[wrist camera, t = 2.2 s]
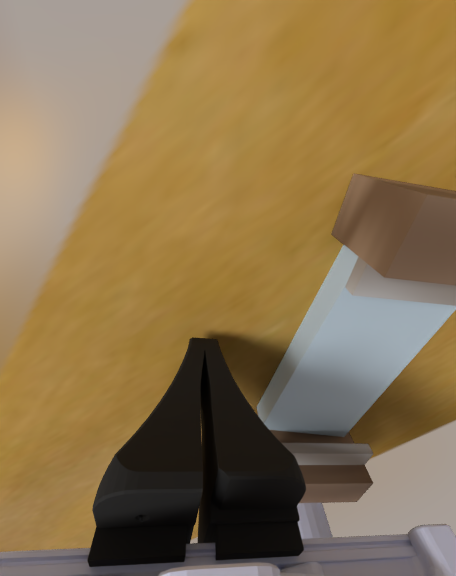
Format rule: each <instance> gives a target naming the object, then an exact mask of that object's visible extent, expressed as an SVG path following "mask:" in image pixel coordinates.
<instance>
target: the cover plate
mask: <svg viewBox="0 0 456 576" xmlns="http://www.w3.org/2000/svg"><path fill="white" fill-rule="evenodd" d="M358 257H359V256H357V255H356V254H355V253H354V252H352V251H351V250H350V249H349V248H348V247H346V246H345V245H343V247H342V249H341V250H340V252H339V254H338V256H337V258H336V260H335V262H334V263H333V265H332V267H331V269H330V271H329V273H328V275H327V277H326V278H325V280H324V282H323V284H322V286H321V288H320V290H319V291H318V293H317V295H316V297H315V299H314V301H313V303H312V305H311V306H310V308H309V310H308V312H307V314H306V316H305V318H304V319H303V321H302V323H301V325H300V327H299V329H298V331H297V333H296V334H295V336H294V338H293V340H292V342H291V344H290V346H289V347H288V349H287V351H286V353H285V355H284V357H283V359H282V361H281V362H280V364H279V366H278V368H277V370H276V372H275V374H274V375H273V377H272V379H271V381H270V383H269V385H268V387H267V389H266V390H265V392H264V394H263V396H262V398H261V400H260V402H259V403H258V405H257V411H258V417H259V418H260V419H261V420H262V422H263V423H264V424H265V425H266V427H267V428H268V429H269V430H278V431H288V432H298V433H308V434H319V435H329V436H339V437H345V435H346V434H347V433H348V432H349V431H350V430H351V429H352V427H353V426H354V425H355V424H356V423H357V422H358V421H359V419H360V418H361V417H362V416H363V415H364V414H365V413H366V411H367V410H368V409H369V408H370V407H371V406H372V405H373V403H374V402H375V401H376V400H377V399H378V398H379V397H380V395H381V394H382V393H383V392H384V391H385V390H386V389H387V387H388V386H389V385H390V384H391V383H392V382H393V381H394V379H395V378H396V377H397V376H398V375H399V374H400V373H401V371H402V370H403V369H404V368H405V367H406V366H407V365H408V363H409V362H410V361H411V360H412V359H413V358H414V357H415V355H416V354H417V353H418V352H419V351H420V350H421V349H422V347H423V346H424V345H425V344H426V343H427V342H428V341H429V339H430V338H431V337H432V336H433V335H434V334H435V333H436V332H437V330H438V329H439V328H440V327H441V326H442V325H443V324H444V322H445V321H446V320H447V319H448V318H449V317H450V316H451V314H452V313H453V312H454V311H455V310H456V306H453V305H443V304H433V303H423V302H413V301H403V300H393V299H383V298H373V297H363V296H353V295H352V294H351V293H350V292H349V291H348V290H347V289H346V288H345V286H346V284H347V282H348V279H349V277H350V275H351V273H352V270H353V268H354V266H355V263H356V261H357V259H358Z"/></svg>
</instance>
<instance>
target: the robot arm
mask: <svg viewBox="0 0 456 576" xmlns="http://www.w3.org/2000/svg"><path fill="white" fill-rule="evenodd" d="M200 410H201V413H200ZM201 428H202V446H201ZM305 492H306V485H305V481H304V478H303V475H302V472H301V470H300V467H299V465H298V462H297V460H296V458H295V456H294V455H293V454H292V453H291V452H290V451H289V450H288V449H287V448H286V447H285V446H284V445H283V444H282V443H281V442H280V441H279V440H278V439H277V438H276V437H275V436H274V435H273V433H272V432H271V431H270V430H269V429H268V428H267V427H266V425H265V424H264V423H263V422H262V420H261V419H260V418H259V417H258V415H257V414H256V413H255V412H254V410H253V409H252V407H251V406H250V405H249V403H248V402H247V400H246V399H245V397H244V396H243V394H242V393H241V391H240V389H239V388H238V386H237V384H236V382H235V380H234V379H233V377H232V375H231V373H230V371H229V369H228V367H227V364H226V362H225V360H224V357H223V355H222V352H221V350H220V347H219V343H218V341H217V340H216V339H205V338H191V339H190V341H189V346H188V349H187V352H186V355H185V357H184V360H183V362H182V364H181V366H180V368H179V370H178V372H177V374H176V376H175V378H174V380H173V382H172V383H171V385H170V387H169V388H168V390H167V392H166V393H165V395H164V396H163V398H162V399H161V401H160V402H159V403H158V405H157V406H156V408H155V409H154V410H153V412H152V413H151V414H150V416H149V417H148V418H147V419H146V421H145V422H144V423H143V424H142V425H141V427H140V428H139V429H138V430H137V431H136V433H135V434H134V435H133V436H132V437H131V438H130V439H129V440H128V441H127V442H126V444H125V445H124V446H123V447H122V448H121V449H120V450H119V451H118V452H117V453H116V454H115V456H114V458H113V459H112V461H111V463H110V464H109V466H108V468H107V470H106V472H105V474H104V476H103V478H102V480H101V483H100V485H99V488H98V491H97V494H96V497H95V501H94V504H93V514H94V518H95V522H96V526H97V527H96V531H95V534H94V538H93V541H92V545H91V548H78V549H55V550H31V551H8V552H0V576H456V536H455V535H454V533H453V531H452V530H451V528H450V526H449V525H446V524H437V525H420V526H417V527H415V528H413V529H412V530H410V531H409V532H408V534H403V535H380V536H356V537H332V534H331V531H330V527H329V524H328V521H327V518H326V514H325V512H324V508H323V505H322V503H299V502H300V501H301V499H302V498H303V496H304V494H305ZM198 509H199V524H198V543H194V544H190V541H191V536H192V532H193V527H194V525H195V523H196V518H197V514H198Z"/></svg>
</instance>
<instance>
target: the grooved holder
mask: <svg viewBox="0 0 456 576" xmlns="http://www.w3.org/2000/svg"><path fill="white" fill-rule="evenodd" d="M332 235H333V236H334V237H335V238H336V239H338V240H339V241H340V242H341V243H343V244H344V245H345V246H346V247H348V248H349V249H350V250H351V251H352V252H354V253H355V254H356V255H357V256H359V257H358V259H357V261H356V263H355V266H354V268H353V270H352V273H351V275H350V277H349V279H348V282H347V284H346V286H345V288H346V289H347V290H348V291H349V292H350V293H351V294H352V295H353V296H363V297H373V298H383V299H393V300H403V301H413V302H423V303H433V304H443V305H453V306H456V191H452V190H446V189H440V188H434V187H428V186H423V185H417V184H411V183H405V182H399V181H394V180H388V179H382V178H376V177H370V176H365V175H359V174H353V177H352V179H351V182H350V185H349V188H348V190H347V193H346V196H345V198H344V201H343V204H342V207H341V209H340V212H339V215H338V217H337V220H336V223H335V226H334V228H333V231H332ZM270 431H271V432H272V433H273V435H274V436H275V437H276V438H277V439H278V440H279V441H280V442H281V443H282V444H283V445H284V446H285V447H286V448H287V449H288V450H289V451H290V452H291V453H292V454H293V455H294V456H295V458H296V460H297V462H298V465H299V467H300V470H301V472H302V475H303V478H304V481H305V485H306V492H305V494H304V496H303V498H302V499H301V501H300V502H299V503H327V502H357V501H358V500H359V499H360V497H361V496H362V495H363V494H364V493H365V492H366V490H368V488H369V487H370V486H371V485H372V484H373V482H372V480H371V478H370V476H369V473H368V471H367V469H366V467H365V464H366V463H367V461H368V460H369V459H370V458H371V456H372V455H373V452H372V450H371V448H370V446H369V445H368V444H354V442H353V440H352V438H351V436H350V434H349V432H348V433H347V434H346V435H345V437H339V436H329V435H319V434H308V433H298V432H288V431H278V430H270Z"/></svg>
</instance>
